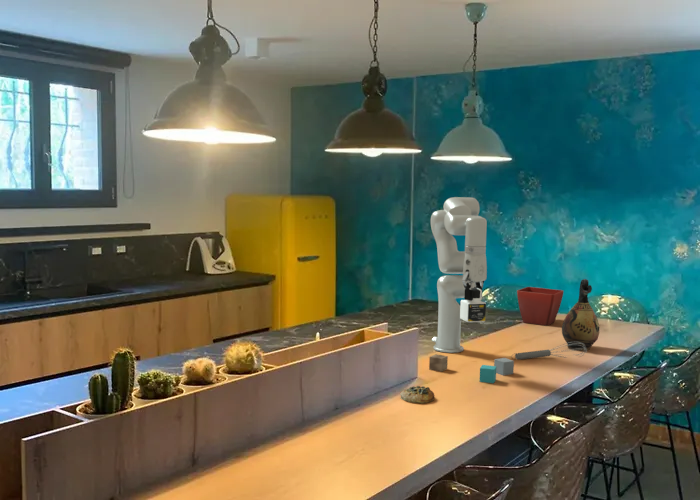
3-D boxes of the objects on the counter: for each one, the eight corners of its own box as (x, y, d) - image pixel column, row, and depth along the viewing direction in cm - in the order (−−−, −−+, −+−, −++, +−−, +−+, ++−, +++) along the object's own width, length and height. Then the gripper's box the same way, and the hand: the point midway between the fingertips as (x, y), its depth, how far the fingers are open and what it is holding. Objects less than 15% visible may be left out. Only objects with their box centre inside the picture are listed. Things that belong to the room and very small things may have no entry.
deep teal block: (479, 381, 242) (480, 368, 242) (481, 378, 247) (482, 364, 246) (493, 383, 240) (494, 369, 240) (495, 380, 245) (496, 366, 244)
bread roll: (432, 393, 227) (432, 379, 226) (436, 408, 216) (437, 393, 215) (398, 394, 227) (398, 380, 226) (401, 409, 216) (401, 394, 215)
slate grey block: (493, 372, 255) (494, 359, 255) (504, 370, 257) (504, 357, 257) (503, 375, 251) (503, 362, 250) (513, 374, 253) (513, 360, 253)
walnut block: (429, 369, 257) (429, 356, 256) (435, 367, 261) (435, 354, 261) (441, 372, 254) (441, 358, 254) (447, 369, 258) (447, 356, 258)
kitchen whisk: (507, 358, 278) (508, 342, 277) (580, 355, 286) (581, 340, 286) (515, 362, 272) (516, 346, 271) (589, 358, 281) (590, 343, 280)
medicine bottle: (467, 322, 250) (469, 290, 249) (459, 318, 257) (460, 287, 256) (485, 321, 252) (486, 289, 251) (476, 318, 259) (478, 286, 257)
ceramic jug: (601, 353, 288) (605, 283, 285) (562, 351, 291) (566, 281, 288) (595, 344, 305) (598, 277, 302) (559, 342, 308) (562, 276, 305)
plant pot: (562, 322, 356) (564, 289, 355) (552, 327, 340) (553, 294, 338) (526, 317, 366) (528, 286, 365) (514, 323, 350) (516, 290, 349)
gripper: (472, 253, 243) (470, 303, 244) (495, 250, 256) (493, 297, 258) (454, 251, 247) (452, 300, 249) (477, 248, 261) (476, 295, 262)
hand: (473, 298), depth 253 cm, fingers closed on medicine bottle, 6 cm apart
